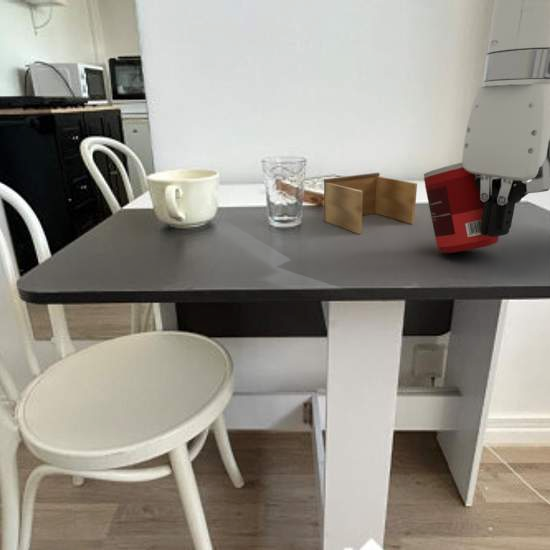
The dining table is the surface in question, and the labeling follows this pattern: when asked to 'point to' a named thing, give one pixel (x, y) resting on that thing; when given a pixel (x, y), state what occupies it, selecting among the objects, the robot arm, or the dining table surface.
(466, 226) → the canned food
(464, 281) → the dining table surface
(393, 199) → the brown u-shaped panel piece
